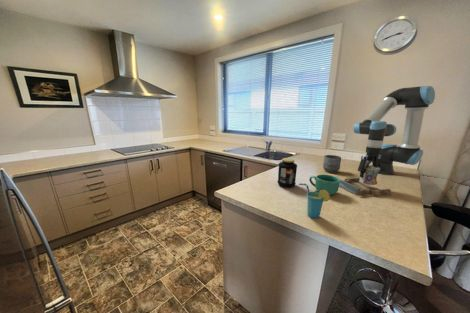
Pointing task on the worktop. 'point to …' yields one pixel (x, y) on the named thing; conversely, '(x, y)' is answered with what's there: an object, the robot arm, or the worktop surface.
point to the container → (287, 172)
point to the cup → (315, 202)
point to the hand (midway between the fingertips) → (367, 181)
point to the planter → (331, 163)
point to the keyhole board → (361, 188)
